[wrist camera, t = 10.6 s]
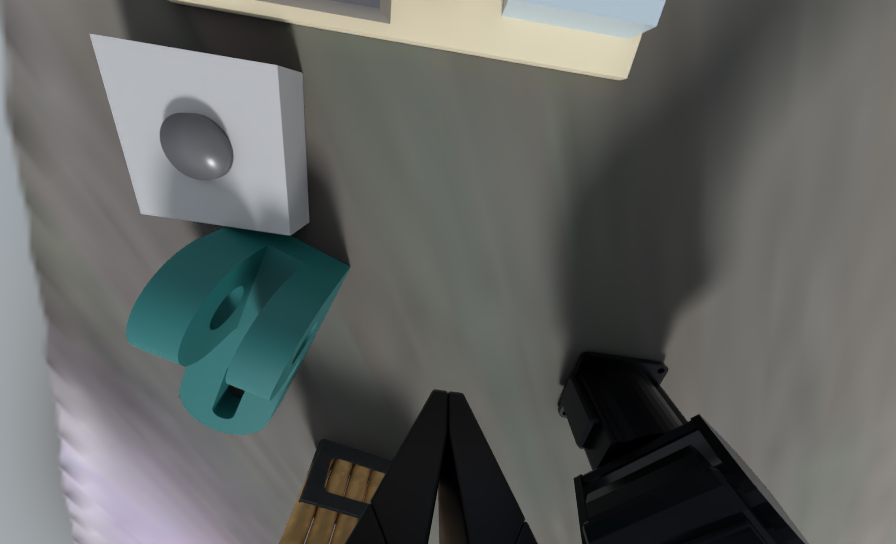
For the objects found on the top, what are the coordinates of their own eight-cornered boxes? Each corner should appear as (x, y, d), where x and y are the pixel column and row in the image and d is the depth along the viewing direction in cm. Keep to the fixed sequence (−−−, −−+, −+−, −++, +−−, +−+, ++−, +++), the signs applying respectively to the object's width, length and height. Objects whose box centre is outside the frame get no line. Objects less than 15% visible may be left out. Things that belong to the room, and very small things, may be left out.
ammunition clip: (316, 449, 29) (234, 642, 18) (321, 438, 29) (239, 632, 18) (420, 483, 31) (401, 676, 20) (428, 473, 30) (413, 668, 20)
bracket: (252, 214, 20) (137, 267, 13) (351, 265, 21) (297, 339, 14) (193, 391, 27) (98, 490, 20) (271, 421, 28) (208, 523, 21)
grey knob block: (302, 72, 16) (269, 63, 13) (309, 222, 20) (284, 239, 17) (141, 45, 16) (74, 30, 13) (178, 202, 19) (130, 216, 16)
